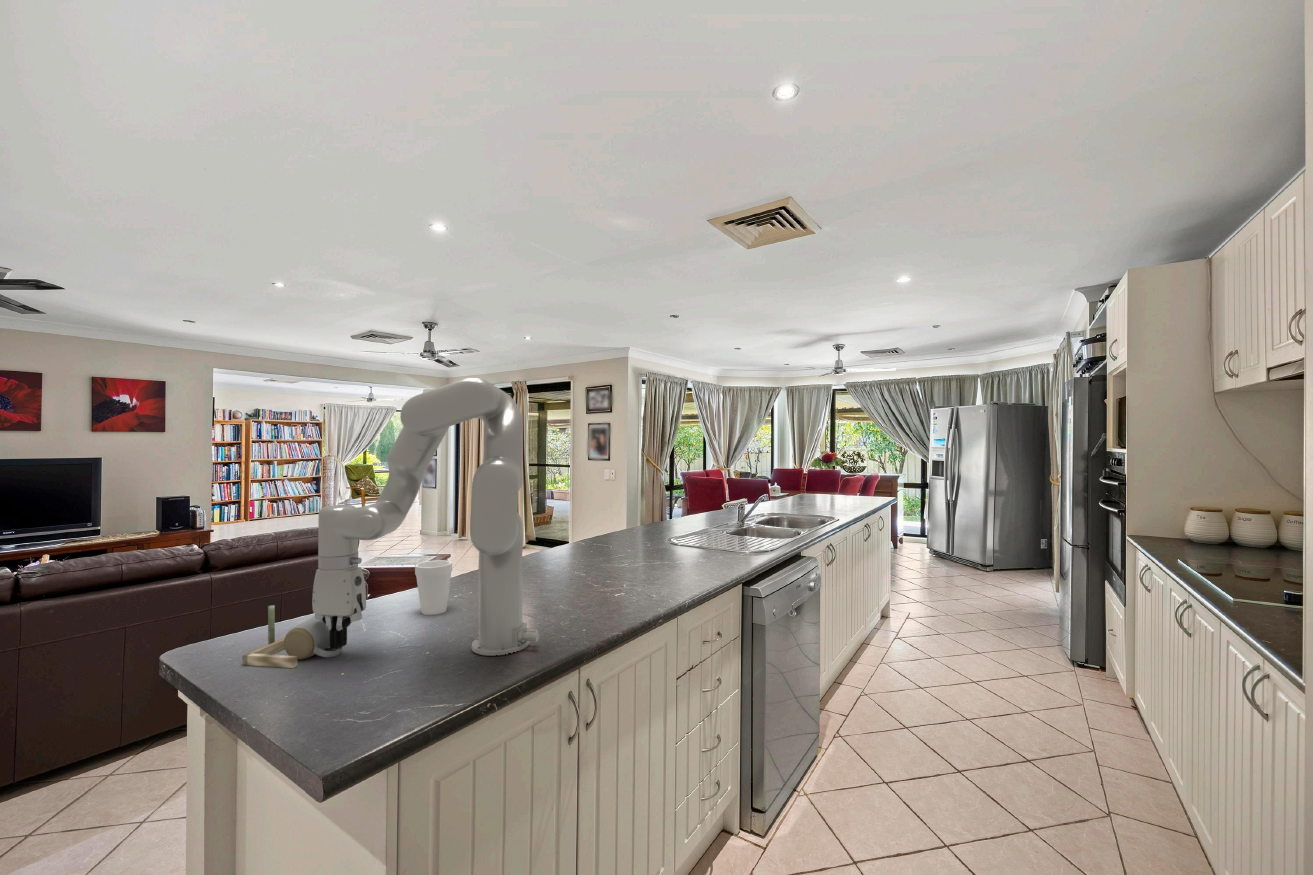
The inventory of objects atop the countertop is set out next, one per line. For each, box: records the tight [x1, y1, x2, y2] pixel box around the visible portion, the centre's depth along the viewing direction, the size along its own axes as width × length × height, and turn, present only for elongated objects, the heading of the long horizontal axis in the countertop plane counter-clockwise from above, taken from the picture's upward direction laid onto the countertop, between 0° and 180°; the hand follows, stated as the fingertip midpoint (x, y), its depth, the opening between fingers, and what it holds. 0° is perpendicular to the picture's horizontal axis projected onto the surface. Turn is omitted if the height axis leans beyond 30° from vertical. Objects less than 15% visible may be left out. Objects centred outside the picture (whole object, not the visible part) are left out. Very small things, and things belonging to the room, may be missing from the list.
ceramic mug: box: [284, 615, 344, 660], centre depth 121 cm, size 11×8×8 cm
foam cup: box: [414, 559, 453, 616], centre depth 151 cm, size 10×9×13 cm
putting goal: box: [241, 604, 298, 669], centre depth 122 cm, size 13×15×10 cm
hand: (338, 646), depth 120 cm, fingers closed
